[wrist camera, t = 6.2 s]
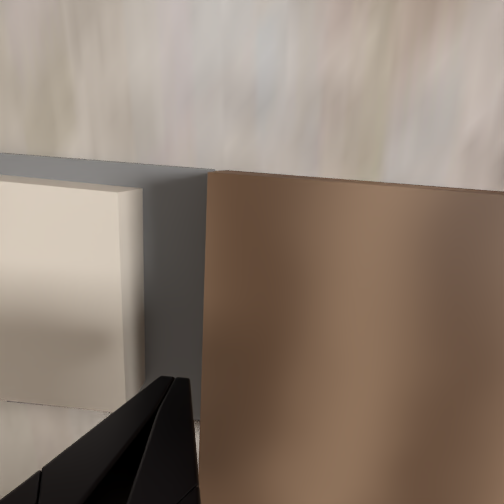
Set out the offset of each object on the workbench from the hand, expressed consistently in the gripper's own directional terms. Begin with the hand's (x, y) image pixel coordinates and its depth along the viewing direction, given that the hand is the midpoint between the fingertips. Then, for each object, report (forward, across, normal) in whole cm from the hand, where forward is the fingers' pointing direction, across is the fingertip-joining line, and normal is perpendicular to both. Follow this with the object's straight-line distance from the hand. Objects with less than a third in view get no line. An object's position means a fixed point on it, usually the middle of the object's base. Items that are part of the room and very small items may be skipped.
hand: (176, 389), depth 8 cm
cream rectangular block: (+3, +6, -1) cm, 6 cm away
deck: (+5, -8, 0) cm, 10 cm away
